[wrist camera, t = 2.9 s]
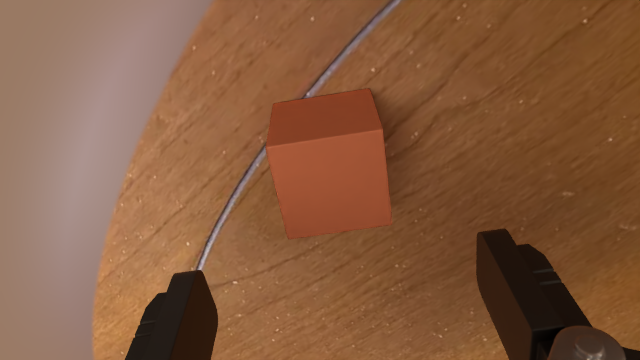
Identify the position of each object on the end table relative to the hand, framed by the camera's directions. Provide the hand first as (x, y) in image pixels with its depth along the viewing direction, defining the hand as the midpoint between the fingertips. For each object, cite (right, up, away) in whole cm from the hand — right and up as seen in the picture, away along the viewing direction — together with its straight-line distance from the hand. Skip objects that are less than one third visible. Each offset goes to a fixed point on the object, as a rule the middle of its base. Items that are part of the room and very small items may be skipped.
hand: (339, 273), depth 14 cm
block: (0, +5, +7) cm, 9 cm away
